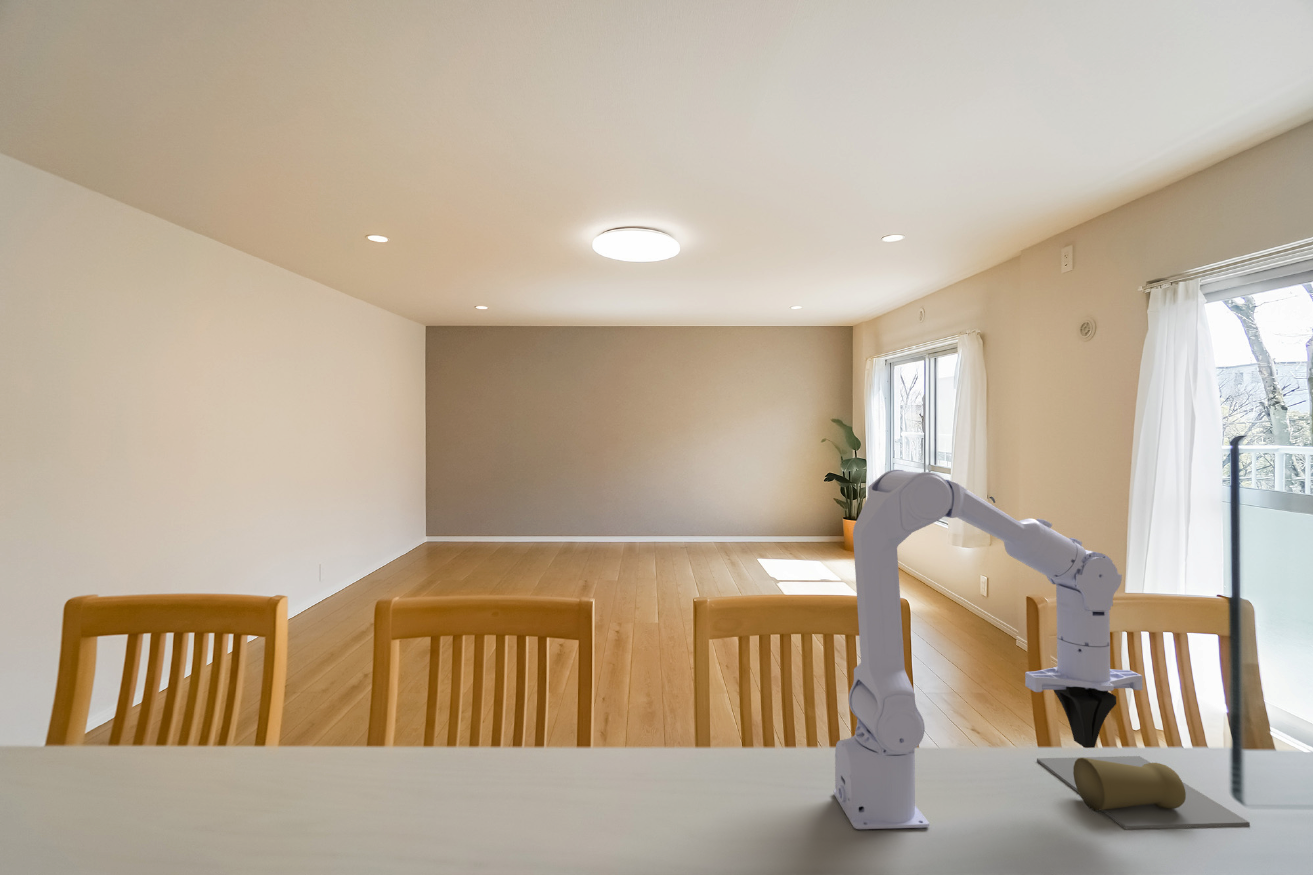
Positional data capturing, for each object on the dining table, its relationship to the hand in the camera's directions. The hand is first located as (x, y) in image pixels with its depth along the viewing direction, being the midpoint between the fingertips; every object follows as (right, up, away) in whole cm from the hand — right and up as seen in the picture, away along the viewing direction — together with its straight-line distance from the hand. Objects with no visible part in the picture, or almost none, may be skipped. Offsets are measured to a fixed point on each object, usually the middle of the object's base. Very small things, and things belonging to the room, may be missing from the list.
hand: (1084, 743), depth 78 cm
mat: (+9, -8, +3) cm, 13 cm away
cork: (0, -5, 0) cm, 5 cm away
